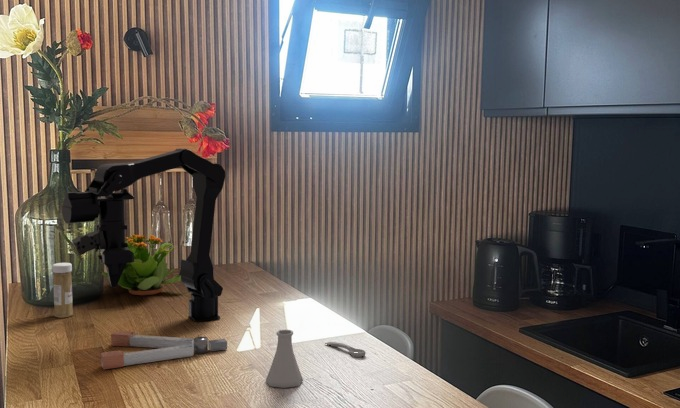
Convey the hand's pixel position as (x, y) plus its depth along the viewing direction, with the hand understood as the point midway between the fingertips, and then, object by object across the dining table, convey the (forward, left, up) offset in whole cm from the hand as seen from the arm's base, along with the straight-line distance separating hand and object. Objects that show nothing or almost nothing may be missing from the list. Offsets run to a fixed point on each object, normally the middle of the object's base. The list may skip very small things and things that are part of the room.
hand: (113, 287), depth 153 cm
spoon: (-44, +31, -12) cm, 55 cm away
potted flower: (-15, -38, -12) cm, 43 cm away
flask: (-25, +42, -12) cm, 50 cm away
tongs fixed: (-8, +20, -11) cm, 24 cm away
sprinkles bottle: (+9, -22, -12) cm, 27 cm away
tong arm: (-8, +13, -11) cm, 19 cm away
